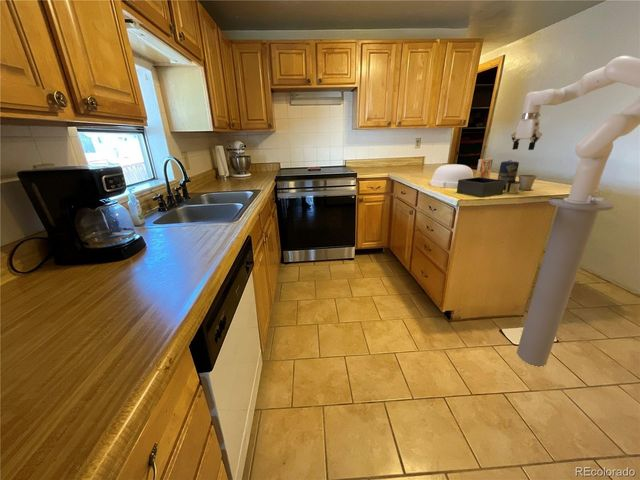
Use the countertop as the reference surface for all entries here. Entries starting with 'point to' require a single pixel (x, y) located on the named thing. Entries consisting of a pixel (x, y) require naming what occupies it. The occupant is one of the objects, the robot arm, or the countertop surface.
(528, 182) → the flower pot
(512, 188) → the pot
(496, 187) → the dark gray open box
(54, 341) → the countertop surface
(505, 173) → the canister
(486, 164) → the candy box
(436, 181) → the dome cover
